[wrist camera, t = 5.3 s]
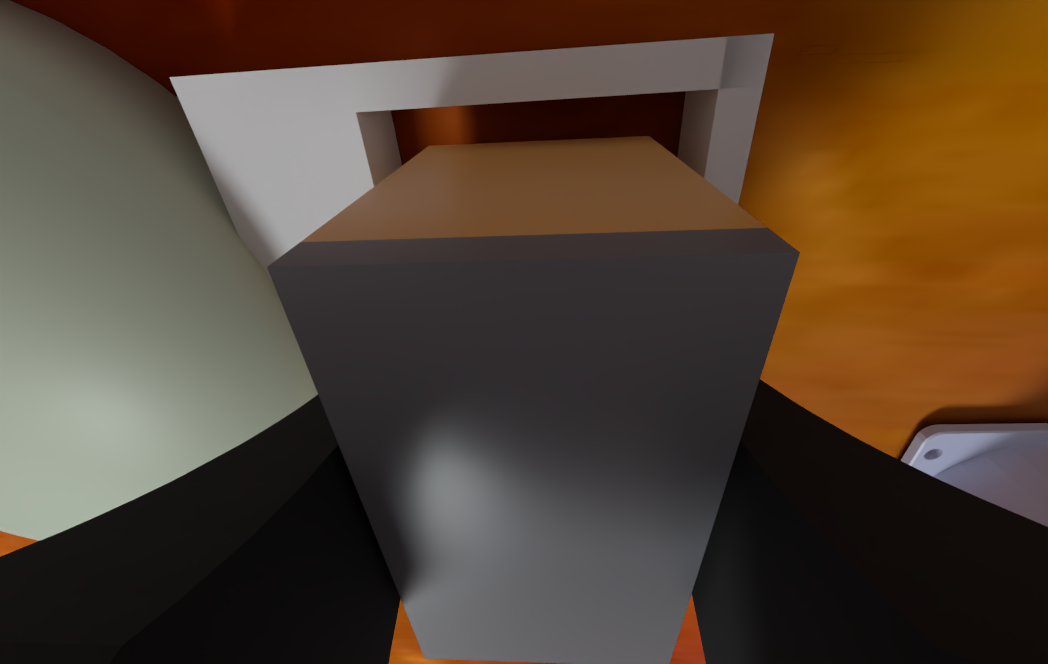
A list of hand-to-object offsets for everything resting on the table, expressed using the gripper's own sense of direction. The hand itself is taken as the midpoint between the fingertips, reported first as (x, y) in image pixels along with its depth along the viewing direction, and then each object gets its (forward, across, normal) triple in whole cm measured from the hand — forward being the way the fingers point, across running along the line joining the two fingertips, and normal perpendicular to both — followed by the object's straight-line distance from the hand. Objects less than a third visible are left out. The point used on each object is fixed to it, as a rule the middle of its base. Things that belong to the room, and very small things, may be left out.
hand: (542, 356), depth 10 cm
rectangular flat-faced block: (+2, 0, 0) cm, 2 cm away
